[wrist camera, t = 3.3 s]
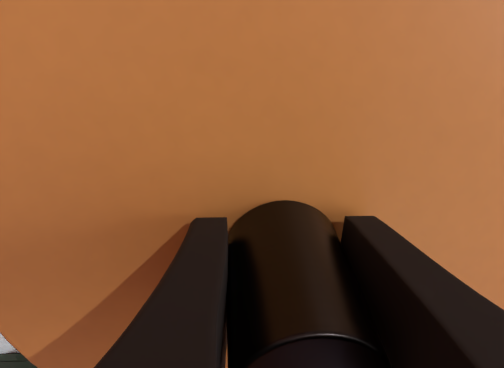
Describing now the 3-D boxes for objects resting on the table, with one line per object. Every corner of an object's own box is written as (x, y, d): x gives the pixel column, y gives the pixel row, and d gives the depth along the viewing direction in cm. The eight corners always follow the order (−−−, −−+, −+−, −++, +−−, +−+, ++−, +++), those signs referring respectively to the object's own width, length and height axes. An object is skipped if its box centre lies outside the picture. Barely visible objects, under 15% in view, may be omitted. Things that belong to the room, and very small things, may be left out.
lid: (470, 392, 14) (573, 571, 10) (36, 411, 13) (-45, 620, 9) (682, -112, 8) (1209, -177, 4) (-147, -155, 7) (-726, -313, 3)
